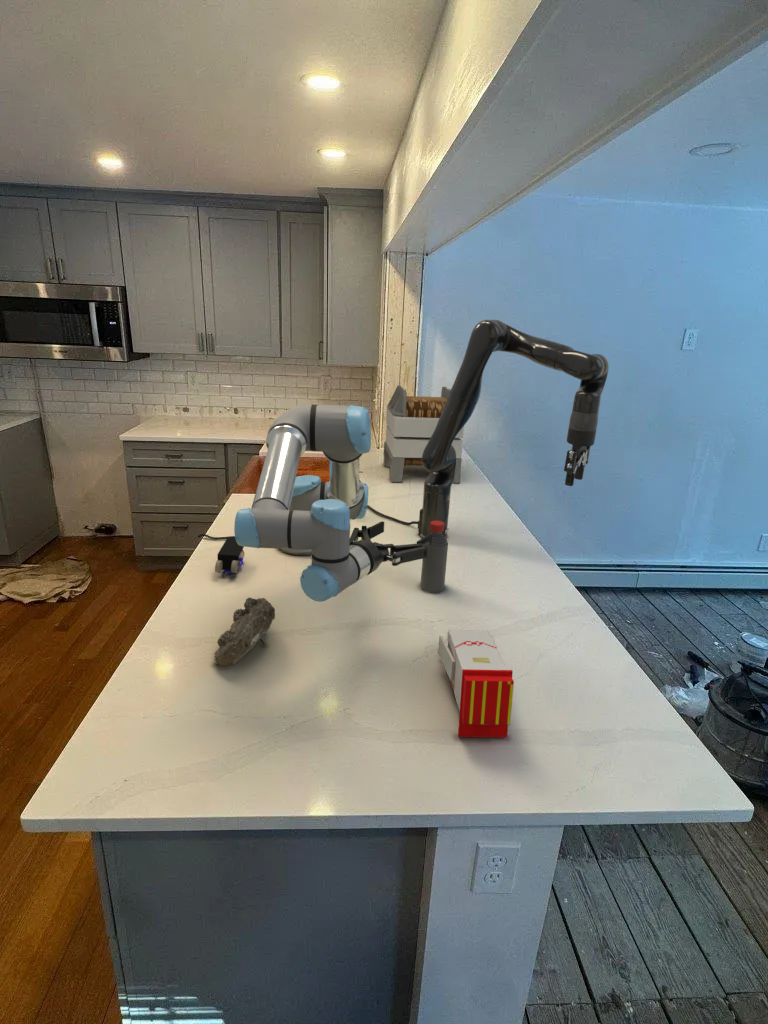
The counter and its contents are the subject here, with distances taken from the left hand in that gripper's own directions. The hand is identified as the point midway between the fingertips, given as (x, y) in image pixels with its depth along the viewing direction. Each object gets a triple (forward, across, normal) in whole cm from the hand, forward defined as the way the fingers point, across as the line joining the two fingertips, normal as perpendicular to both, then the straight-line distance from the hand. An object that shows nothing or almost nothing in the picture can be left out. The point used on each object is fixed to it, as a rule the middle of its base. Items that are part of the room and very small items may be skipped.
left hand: (406, 532), depth 140 cm
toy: (-19, +28, -23) cm, 41 cm away
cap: (+18, 0, -3) cm, 19 cm away
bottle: (+19, -1, -23) cm, 29 cm away
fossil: (-32, -22, -23) cm, 46 cm away
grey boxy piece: (+122, -61, -22) cm, 138 cm away
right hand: (+51, +27, +7) cm, 58 cm away
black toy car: (-7, -54, -23) cm, 59 cm away
